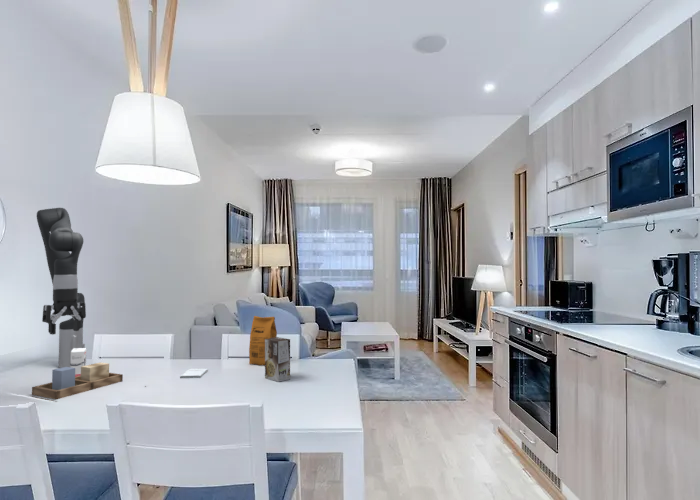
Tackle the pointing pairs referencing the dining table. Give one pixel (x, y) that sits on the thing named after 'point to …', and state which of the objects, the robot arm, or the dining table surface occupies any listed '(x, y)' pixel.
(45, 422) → the dining table surface
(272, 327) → the coffee package
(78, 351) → the ink box
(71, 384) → the slate block
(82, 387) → the tray
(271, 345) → the coffee box
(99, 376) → the oak block
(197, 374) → the external hard drive
